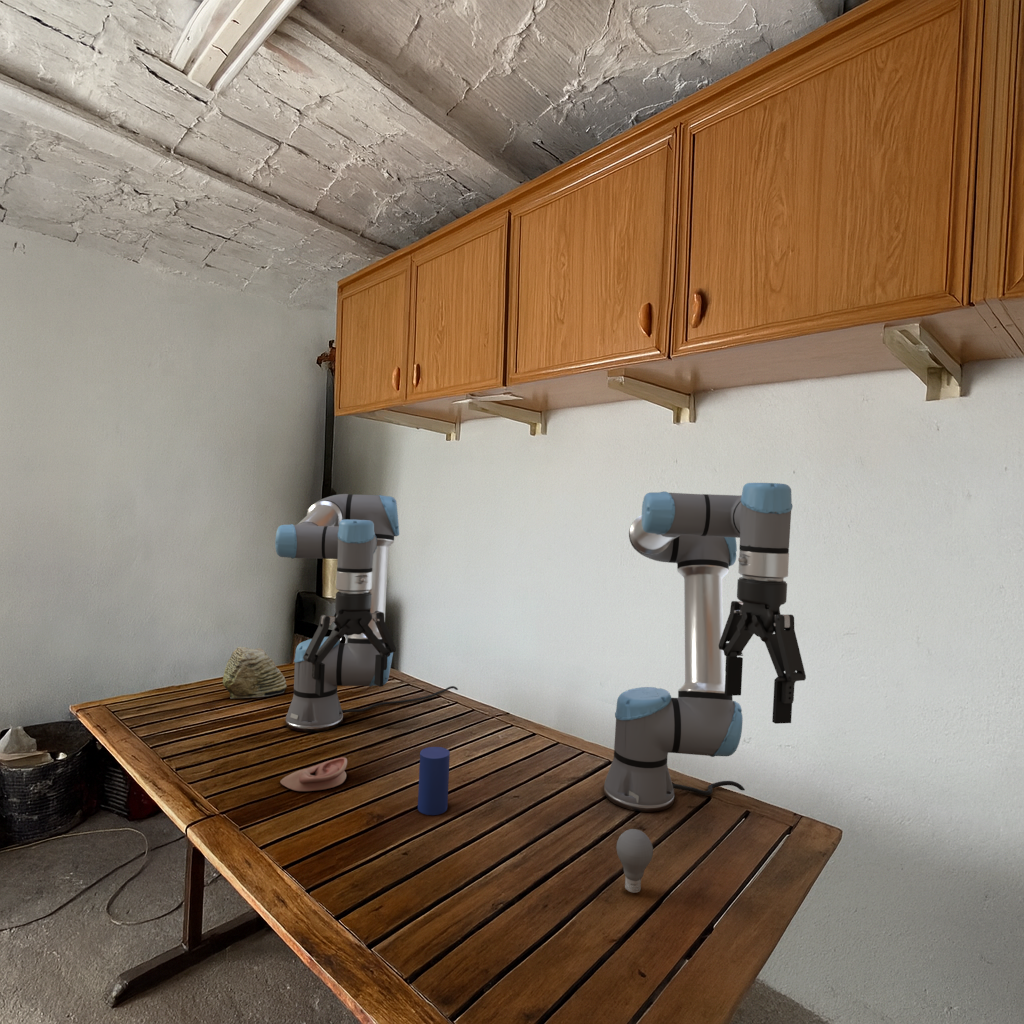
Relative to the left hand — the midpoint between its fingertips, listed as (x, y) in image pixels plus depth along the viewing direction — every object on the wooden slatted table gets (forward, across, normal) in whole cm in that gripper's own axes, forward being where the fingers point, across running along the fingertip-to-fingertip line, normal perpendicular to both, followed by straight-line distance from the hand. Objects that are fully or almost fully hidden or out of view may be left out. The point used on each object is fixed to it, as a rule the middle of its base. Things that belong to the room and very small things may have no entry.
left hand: (349, 689), depth 136 cm
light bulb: (+23, +24, -59) cm, 68 cm away
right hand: (-10, +37, -72) cm, 82 cm away
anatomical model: (+22, -4, +8) cm, 24 cm away
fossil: (+21, +4, +76) cm, 79 cm away
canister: (+22, +12, -16) cm, 30 cm away
